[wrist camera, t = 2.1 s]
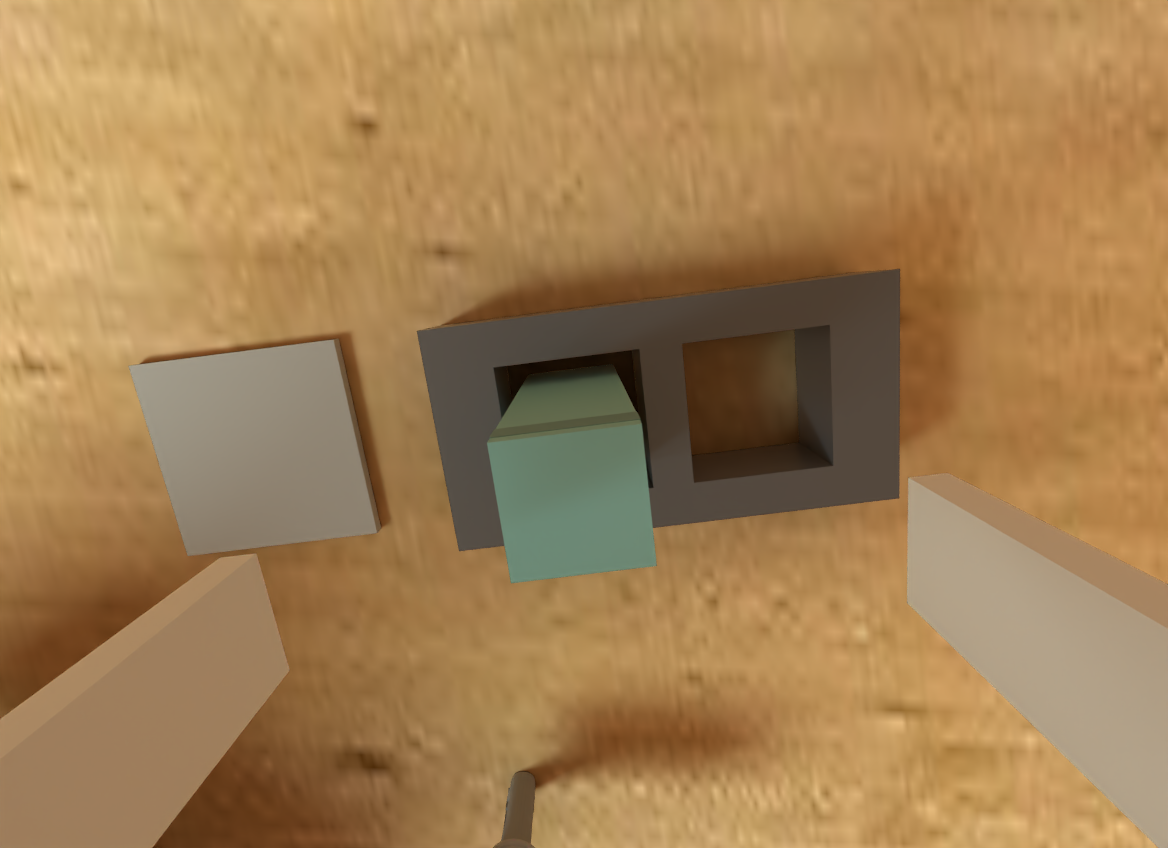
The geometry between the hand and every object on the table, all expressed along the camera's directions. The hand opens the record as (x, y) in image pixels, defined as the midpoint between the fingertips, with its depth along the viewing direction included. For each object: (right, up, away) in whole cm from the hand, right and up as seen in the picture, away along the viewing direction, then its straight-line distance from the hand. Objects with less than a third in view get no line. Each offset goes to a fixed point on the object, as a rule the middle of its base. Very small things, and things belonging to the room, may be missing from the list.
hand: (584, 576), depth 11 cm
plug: (0, +4, +17) cm, 17 cm away
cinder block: (+4, +4, +17) cm, 18 cm away
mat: (-16, +2, +17) cm, 24 cm away
